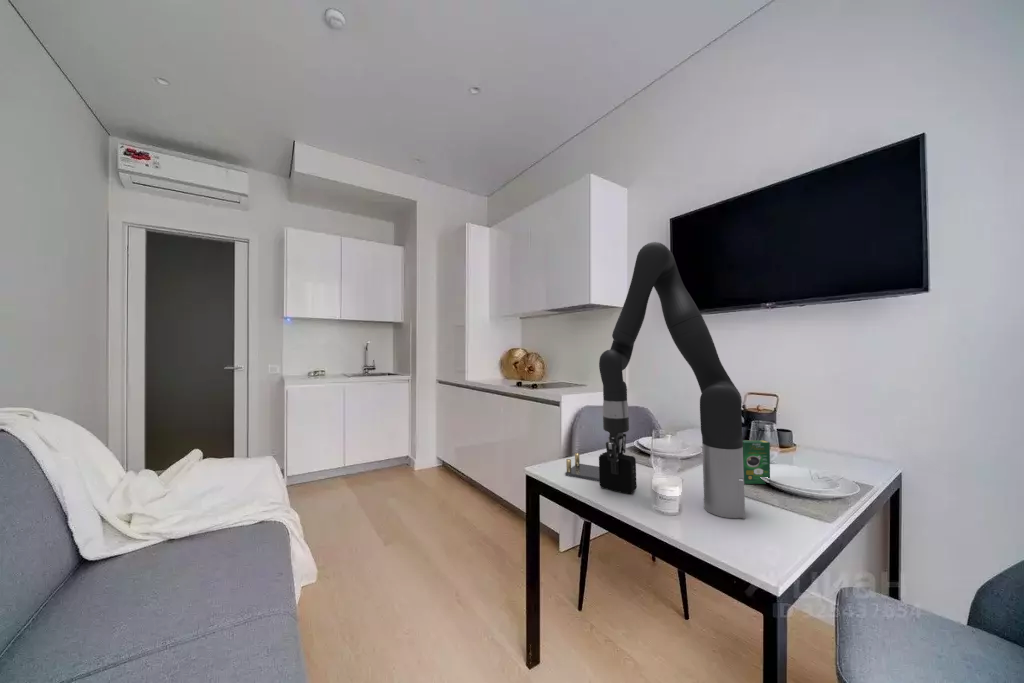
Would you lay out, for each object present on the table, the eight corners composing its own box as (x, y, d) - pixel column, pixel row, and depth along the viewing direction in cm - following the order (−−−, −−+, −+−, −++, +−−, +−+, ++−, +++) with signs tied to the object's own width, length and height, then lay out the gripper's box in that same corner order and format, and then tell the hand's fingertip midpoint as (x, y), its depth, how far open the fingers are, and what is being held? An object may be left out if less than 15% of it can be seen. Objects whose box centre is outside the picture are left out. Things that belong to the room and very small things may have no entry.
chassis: (619, 472, 125) (619, 458, 125) (610, 483, 116) (609, 467, 116) (576, 465, 133) (576, 452, 133) (565, 475, 124) (564, 460, 124)
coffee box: (765, 481, 115) (764, 439, 115) (771, 484, 112) (770, 441, 112) (739, 481, 115) (738, 439, 115) (744, 484, 112) (743, 441, 112)
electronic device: (631, 494, 106) (630, 460, 106) (599, 487, 112) (598, 454, 112) (636, 490, 110) (635, 456, 110) (605, 483, 116) (604, 451, 116)
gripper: (621, 420, 103) (623, 481, 103) (633, 411, 115) (635, 466, 115) (596, 418, 107) (597, 476, 107) (610, 410, 119) (611, 462, 119)
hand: (617, 470), depth 111 cm, fingers closed on electronic device, 4 cm apart
